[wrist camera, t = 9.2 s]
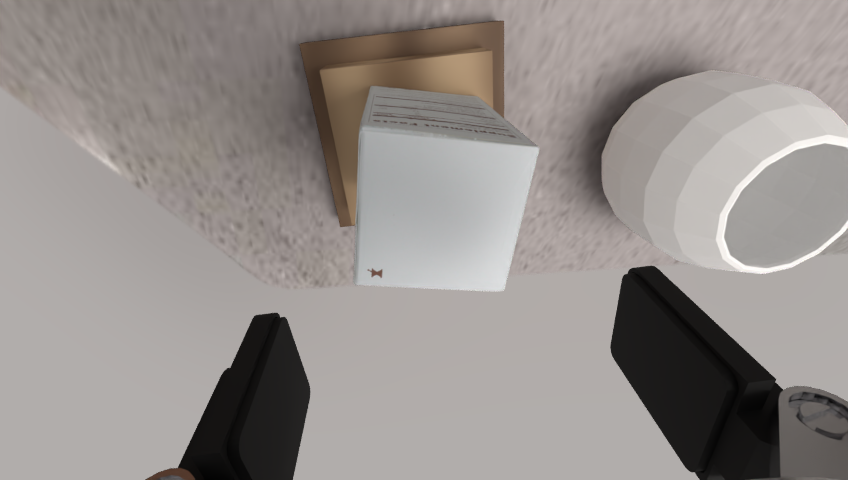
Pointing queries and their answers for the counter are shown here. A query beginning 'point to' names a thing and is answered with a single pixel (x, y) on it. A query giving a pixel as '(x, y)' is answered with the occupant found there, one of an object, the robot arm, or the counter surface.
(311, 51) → the plinth
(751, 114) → the white vase
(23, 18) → the counter surface
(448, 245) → the supplement box
